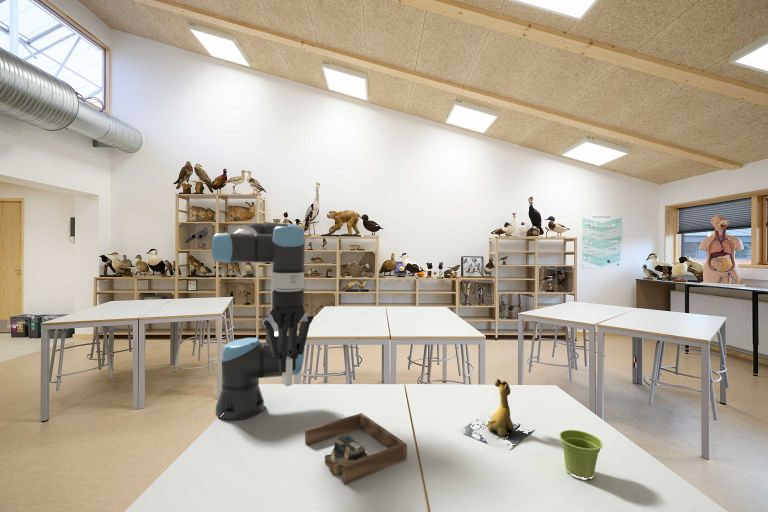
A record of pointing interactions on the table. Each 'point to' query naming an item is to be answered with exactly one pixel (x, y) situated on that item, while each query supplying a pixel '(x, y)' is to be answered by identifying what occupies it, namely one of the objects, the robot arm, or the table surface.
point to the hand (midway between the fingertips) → (287, 383)
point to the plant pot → (580, 452)
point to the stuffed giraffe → (501, 418)
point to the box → (369, 463)
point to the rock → (344, 454)
